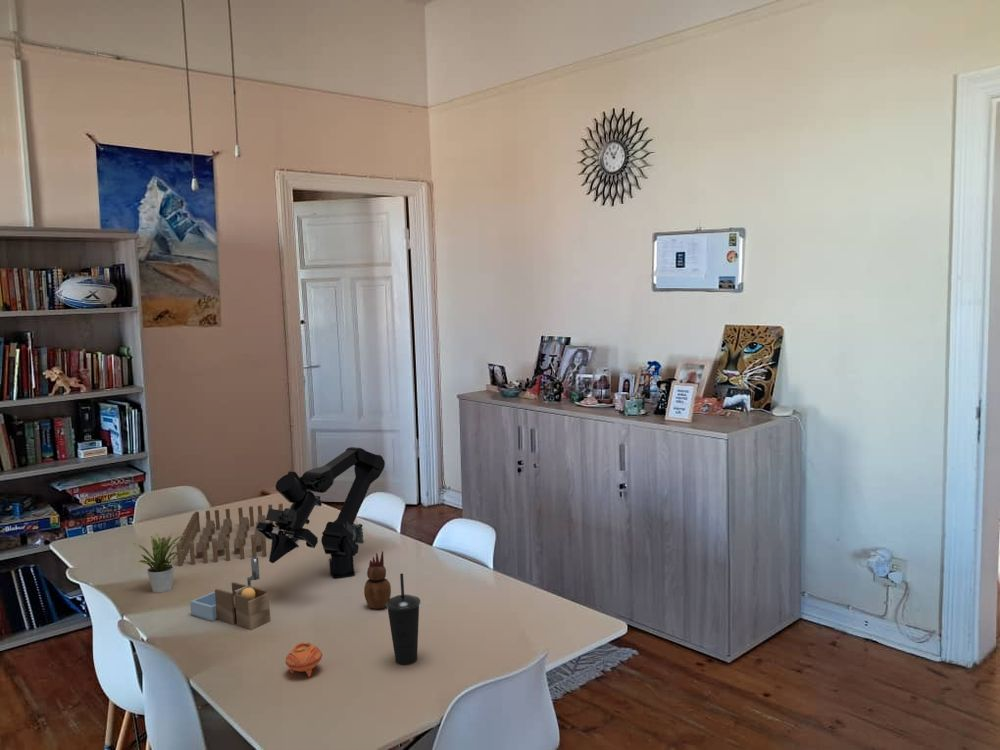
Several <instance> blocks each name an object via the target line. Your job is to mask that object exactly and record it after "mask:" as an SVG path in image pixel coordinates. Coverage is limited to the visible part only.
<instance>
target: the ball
mask: <svg viewBox="0 0 1000 750" xmlns="http://www.w3.org/2000/svg"><path fill="white" fill-rule="evenodd" d="M252 588H253V587H251V588H245V589H244V590H243V591H242V593H241V595H242V596H246V597H250V600H253V599H254V598H255V591H254V589H252Z"/></svg>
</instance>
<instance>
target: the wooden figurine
mask: <svg viewBox="0 0 1000 750" xmlns="http://www.w3.org/2000/svg"><path fill="white" fill-rule="evenodd" d="M379 558H380V559H379ZM384 563H385V562H384V551H383V550H382V551H381V554H380V557H379V554H378V552H376V553H375V557H372V560H371V559H370V560H369V563H368V568H367V572H366V575H367V578H368V579H367V580H366V581H365V583H364V584H365V585H364V587H363V588H364V589H363V591H364V592H363V593H364V598H365V601H366V603H367V605H368V607H369V608H371V609H374V610H380V609H385V608H387V607H386V602H387V600H389V599H390V598H391V593H392V587H391V583H390V581H389V579H387V578H386V575H387V569H386V567H385V564H384Z"/></svg>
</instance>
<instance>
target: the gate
mask: <svg viewBox="0 0 1000 750" xmlns="http://www.w3.org/2000/svg"><path fill="white" fill-rule="evenodd" d="M250 566H251V576H249V577H246V578H247V579H246V580H247V584H246V585H247V586H245V587H242V588H240V589H237V590H235V595H236V594H238V595H241V593H242V591H243V590H244V589H245V588H252V581H256V580H257V581H258V580H260V578H261V577H260V567H259V566H260V565H259V558H258V557H257V558H253V557H252V558H250Z"/></svg>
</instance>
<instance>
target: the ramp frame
mask: <svg viewBox="0 0 1000 750" xmlns="http://www.w3.org/2000/svg"><path fill="white" fill-rule="evenodd" d="M247 585H248V584H243V583H239V582H231V590H232V591H231V592H230V591H226V590H222V589H220V588H219V589H218V588H216V589H214V591H215V599H216V612H217V620H216V621H220V622H223V623H227V624H230V625H235V624H236V626H238V627H241V628H245V629H248V630H251V631H252V630H255V629H257V628H259V627H261V626H264V625H265V624H267V623H270V622H271V609H270V597H269V595H270V594H269V593H267V590H266V589H262V588H258V587H255V586H253V587H251V588H252V589H254V591H255V598H254V599H253V600H250V597H246V596H242V595H238V594H236V595H235V590H237V589H240V588H242V587H245V586H247Z"/></svg>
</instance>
